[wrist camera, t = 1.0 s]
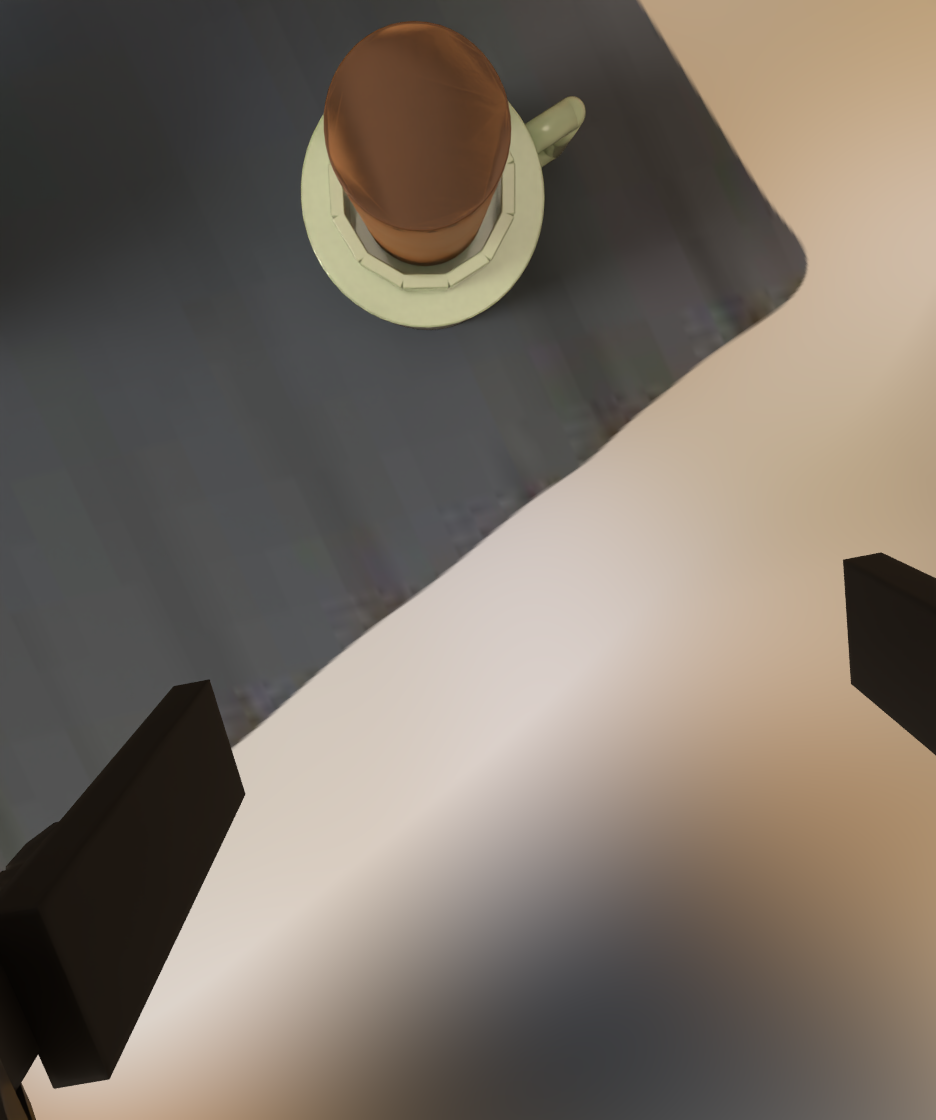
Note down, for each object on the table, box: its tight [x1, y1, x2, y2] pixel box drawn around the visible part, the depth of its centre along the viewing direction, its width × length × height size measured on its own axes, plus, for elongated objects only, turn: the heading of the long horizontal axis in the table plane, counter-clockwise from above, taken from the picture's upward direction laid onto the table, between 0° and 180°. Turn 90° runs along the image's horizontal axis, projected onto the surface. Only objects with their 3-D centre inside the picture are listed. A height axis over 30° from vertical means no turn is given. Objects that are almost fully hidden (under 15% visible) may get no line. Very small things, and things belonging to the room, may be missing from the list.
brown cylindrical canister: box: [324, 21, 511, 266], centre depth 28 cm, size 6×6×12 cm
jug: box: [301, 96, 586, 330], centre depth 38 cm, size 11×14×14 cm
